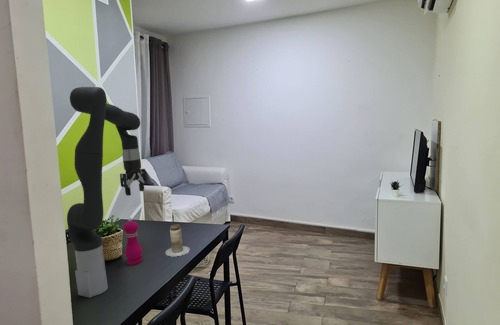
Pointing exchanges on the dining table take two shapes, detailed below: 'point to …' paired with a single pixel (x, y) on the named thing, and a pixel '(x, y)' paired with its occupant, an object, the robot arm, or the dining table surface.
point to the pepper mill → (132, 243)
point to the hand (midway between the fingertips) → (135, 193)
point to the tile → (171, 254)
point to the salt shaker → (176, 238)
